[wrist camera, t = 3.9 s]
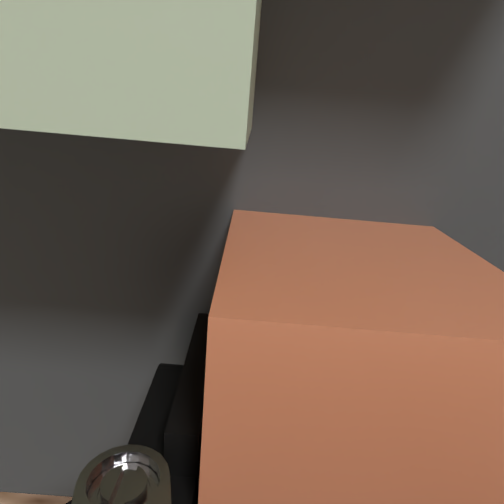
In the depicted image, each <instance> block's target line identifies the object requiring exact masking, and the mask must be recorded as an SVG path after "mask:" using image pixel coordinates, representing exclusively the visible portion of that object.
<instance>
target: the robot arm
mask: <svg viewBox="0 0 504 504" xmlns="http://www.w3.org/2000/svg"><path fill="white" fill-rule="evenodd" d="M208 316H209V314H205V313H199V314H198V317H197V320H196V324H195V327H194V331H193V334H192V338H191V341H190V345H189V348H188V352H187V355H186V359H185V362H184V365H178V364H165V363H160V364H159V365H158V367H157V370H156V372H155V375H154V378H153V380H152V383H151V385H150V388H149V390H148V393H147V396H146V398H145V401H144V403H143V406H142V408H141V411H140V414H139V416H138V419H137V421H136V424H135V426H134V429H133V432H132V434H131V437H130V439H129V442H128V445H123V446H118V447H114V448H111V449H109V450H107V451H105V452H103V453H100V454H99V455H98V456H96V457H95V458H94V459H92V460H91V461H90V462H89V463H88V464H87V465H86V466H85V468H84V469H83V470H82V471H81V473H80V475H79V477H78V480H77V482H76V485H75V489H74V494H73V498H72V500H71V501H69V502H68V503H66V504H198V494H199V476H200V458H201V440H202V422H203V404H204V386H205V368H206V350H207V331H208Z"/></svg>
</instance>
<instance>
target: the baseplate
mask: <svg viewBox="0 0 504 504" xmlns="http://www.w3.org/2000/svg"><path fill="white" fill-rule="evenodd" d="M234 210H245V211H257V212H268V213H280V214H292V215H303V216H315V217H327V218H339V219H350V220H362V221H374V222H386V223H397V224H409V225H421V226H432V227H435V228H436V229H438V230H440V231H441V232H443V233H444V234H446V235H447V236H449V237H450V238H452V239H454V240H455V241H457V242H458V243H460V244H461V245H463V246H464V247H466V248H467V249H469V250H471V251H472V252H474V253H475V254H477V255H478V256H480V257H481V258H483V259H484V260H486V261H488V262H489V263H491V264H492V265H494V266H495V267H497V268H498V269H500V270H502V271H503V272H504V0H262V5H261V17H260V30H259V42H258V55H257V67H256V79H255V92H254V104H253V117H252V129H251V132H250V135H249V139H248V142H247V145H246V149H245V150H242V149H231V148H220V147H208V146H197V145H185V144H174V143H163V142H151V141H140V140H128V139H117V138H106V137H94V136H83V135H71V134H60V133H49V132H37V131H26V130H15V129H3V128H0V492H14V493H28V494H42V495H56V496H70V497H73V494H74V489H75V485H76V482H77V480H78V477H79V475H80V473H81V471H82V470H83V469H84V468H85V466H86V465H87V464H88V463H89V462H90V461H91V460H92V459H94V458H95V457H96V456H98V455H99V454H100V453H103V452H105V451H107V450H109V449H111V448H114V447H118V446H123V445H128V442H129V439H130V437H131V434H132V432H133V429H134V426H135V424H136V421H137V419H138V416H139V414H140V411H141V408H142V406H143V403H144V401H145V398H146V396H147V393H148V390H149V388H150V385H151V383H152V380H153V378H154V375H155V372H156V370H157V367H158V365H159V364H160V363H165V364H178V365H184V362H185V359H186V355H187V352H188V348H189V345H190V341H191V338H192V334H193V331H194V327H195V324H196V320H197V317H198V314H199V313H205V314H209V312H210V308H211V303H212V299H213V295H214V291H215V287H216V282H217V278H218V274H219V270H220V265H221V261H222V257H223V253H224V249H225V244H226V240H227V236H228V232H229V227H230V223H231V219H232V215H233V211H234Z"/></svg>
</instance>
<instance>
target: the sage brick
mask: <svg viewBox="0 0 504 504" xmlns="http://www.w3.org/2000/svg"><path fill="white" fill-rule="evenodd" d="M261 5H262V0H0V128H3V129H15V130H26V131H37V132H49V133H60V134H71V135H83V136H94V137H106V138H117V139H128V140H140V141H151V142H163V143H174V144H185V145H197V146H208V147H220V148H231V149H242V150H245V149H246V145H247V142H248V139H249V135H250V132H251V129H252V117H253V104H254V92H255V79H256V67H257V55H258V42H259V30H260V17H261Z"/></svg>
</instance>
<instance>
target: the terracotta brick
mask: <svg viewBox="0 0 504 504" xmlns="http://www.w3.org/2000/svg"><path fill="white" fill-rule="evenodd" d="M198 504H504V272H503V271H502V270H500V269H498V268H497V267H495V266H494V265H492V264H491V263H489V262H488V261H486V260H484V259H483V258H481V257H480V256H478V255H477V254H475V253H474V252H472V251H471V250H469V249H467V248H466V247H464V246H463V245H461V244H460V243H458V242H457V241H455V240H454V239H452V238H450V237H449V236H447V235H446V234H444V233H443V232H441V231H440V230H438V229H436V228H435V227H432V226H421V225H409V224H397V223H386V222H374V221H362V220H350V219H339V218H327V217H315V216H303V215H292V214H280V213H268V212H257V211H245V210H234V211H233V215H232V219H231V223H230V227H229V232H228V236H227V240H226V244H225V249H224V253H223V257H222V261H221V265H220V270H219V274H218V278H217V282H216V287H215V291H214V295H213V299H212V303H211V308H210V312H209V316H208V331H207V350H206V368H205V386H204V404H203V422H202V440H201V458H200V476H199V494H198Z"/></svg>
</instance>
